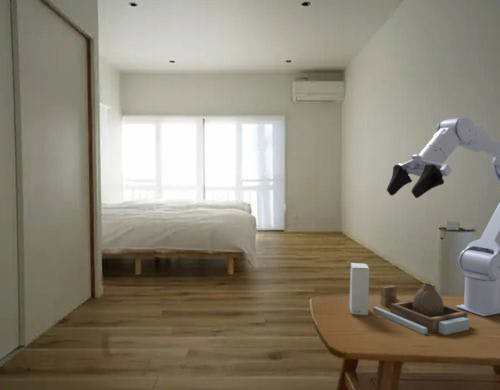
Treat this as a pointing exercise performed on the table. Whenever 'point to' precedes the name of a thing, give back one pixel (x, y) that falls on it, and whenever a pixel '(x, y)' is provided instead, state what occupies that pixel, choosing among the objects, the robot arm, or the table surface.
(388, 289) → the wooden handled frame
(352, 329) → the table surface
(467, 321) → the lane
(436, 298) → the vase
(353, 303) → the skincare box
